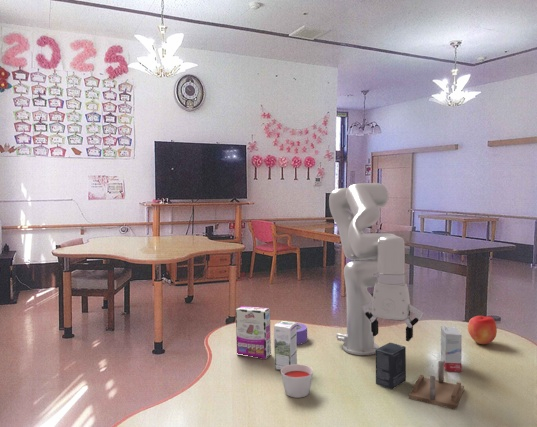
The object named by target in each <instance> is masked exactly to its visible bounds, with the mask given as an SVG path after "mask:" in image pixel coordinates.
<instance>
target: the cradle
mask: <svg viewBox="0 0 537 427" xmlns="http://www.w3.org/2000/svg"><path fill="white" fill-rule="evenodd" d="M437 368H438V371H437V372H438V377H437V378H438V380H436V376H435V375H429V378H428V377H425V375H423V374H420V375H419V376H418V378H417V379H416V381H415V383H414V384H413V386H412V389H411V391H410V392H409V394H408V399H410V400H414V401H419V402H423V403H428V404H432V405H435V406H436V405H437V406H440V407H441V406H442V407H443V408H444V407H445V408H448V409H449V408H450V409H453V410H457V408H458V405H459V402H460V400H461V398H462V395H463V392H464V390H465V385H462V382H458V381H457V382H456V383H453V382H448V381H445V379H444V378H445V376H444V375H445V374H444V370H445V368H444V362H443V361H441V360H439V361H438V367H437Z"/></svg>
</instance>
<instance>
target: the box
mask: <svg viewBox="0 0 537 427" xmlns="http://www.w3.org/2000/svg"><path fill="white" fill-rule="evenodd" d="M375 351H376V353H375V384H376V385H377V386H381V387H384V388H386V389H389V390H394V389H395V388H398V387H399V386H400V385H402V384H403V383H405V382H406V381H407V358H406V357H407V354H406V352H407V350H406V346H404V345H401V344H397V343H394V342H389V343H386V344H384V345H382V346H379V348H378V349H376V350H375Z"/></svg>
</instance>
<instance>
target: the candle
mask: <svg viewBox="0 0 537 427" xmlns="http://www.w3.org/2000/svg"><path fill="white" fill-rule="evenodd" d="M280 373H281V379H282V384H283V389H284V393H285V394H286V395H287V396H288V397H291V398H297V399H299V398H305V397H306V396H308V395H309V394H310V390H311V386H312V381H313V380H312V379H313V374H314V370H313V368H312V367H311V366H309V365H306V364H299V363H297V364H292V365H287V366H285V367H283V368H282V369H281V370H280Z"/></svg>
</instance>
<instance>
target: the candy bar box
mask: <svg viewBox="0 0 537 427" xmlns="http://www.w3.org/2000/svg"><path fill="white" fill-rule="evenodd" d="M235 329H236V330H235V332H236V334H235V335H236V354H237V353H238V354H243V355H248V356H253V357H258V358H257V359H260V358H262V360H266V358H267V357H268V356H269V355H270V354H271V355H272V348H271V347H272V346H271V344H272V341H271V340H272V339H271V309H270V308H269V307H260V306H259V307H258V306H257V307H256V306H246V305H241V306H239V307H237V308H236V309H235ZM271 355H270V356H271ZM270 356H269V357H270ZM253 357H252V358H253ZM269 357H268V358H269ZM268 358H267V359H268Z"/></svg>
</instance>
